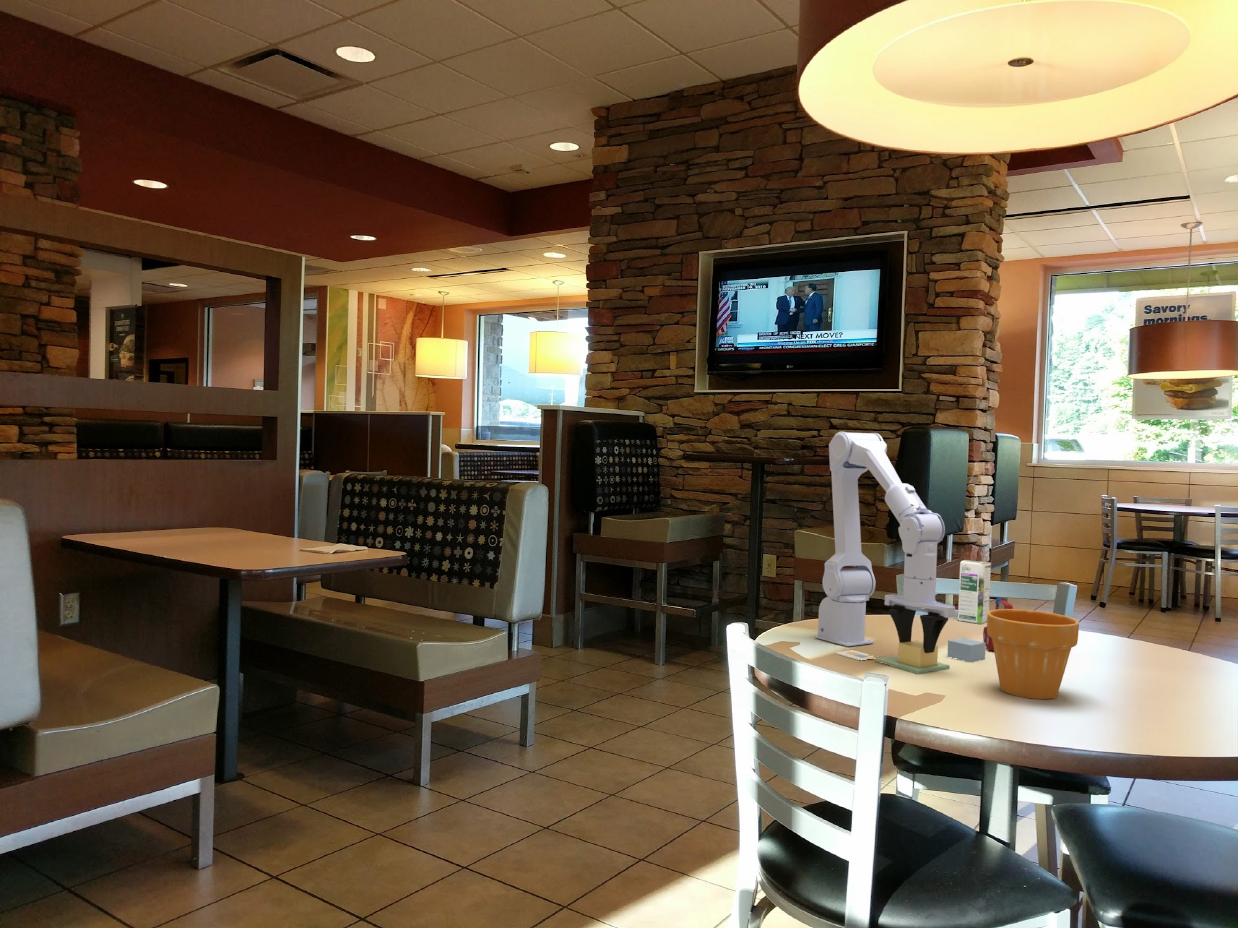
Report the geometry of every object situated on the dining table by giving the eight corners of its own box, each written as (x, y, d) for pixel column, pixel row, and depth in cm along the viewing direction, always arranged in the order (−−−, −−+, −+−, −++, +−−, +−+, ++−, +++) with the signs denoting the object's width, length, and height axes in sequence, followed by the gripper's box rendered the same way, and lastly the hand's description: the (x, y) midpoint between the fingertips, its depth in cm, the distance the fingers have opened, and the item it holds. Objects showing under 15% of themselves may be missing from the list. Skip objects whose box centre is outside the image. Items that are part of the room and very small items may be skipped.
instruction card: (834, 653, 177) (834, 651, 177) (852, 650, 180) (852, 649, 180) (861, 661, 171) (861, 659, 171) (879, 658, 174) (879, 657, 174)
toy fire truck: (1015, 644, 192) (1017, 595, 191) (1026, 656, 180) (1028, 605, 179) (980, 641, 193) (982, 593, 193) (989, 653, 181) (991, 602, 181)
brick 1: (898, 661, 169) (898, 642, 169) (915, 658, 172) (916, 640, 172) (919, 667, 165) (920, 648, 165) (937, 664, 168) (938, 645, 168)
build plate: (875, 661, 171) (875, 658, 171) (906, 656, 176) (906, 653, 176) (918, 673, 163) (918, 670, 162) (949, 668, 167) (949, 665, 167)
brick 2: (947, 657, 177) (948, 640, 177) (962, 654, 180) (962, 637, 180) (970, 663, 173) (971, 645, 173) (984, 660, 176) (985, 642, 176)
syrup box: (956, 620, 216) (959, 561, 215) (965, 617, 220) (967, 559, 220) (981, 624, 212) (983, 563, 212) (989, 621, 217) (991, 561, 216)
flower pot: (1062, 685, 158) (1065, 611, 158) (1087, 707, 144) (1090, 627, 144) (977, 678, 161) (980, 606, 160) (993, 699, 147) (996, 621, 147)
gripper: (966, 581, 164) (963, 655, 164) (902, 571, 176) (900, 639, 176) (942, 583, 160) (939, 659, 160) (878, 572, 172) (875, 642, 173)
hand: (917, 649), depth 168 cm, fingers closed on brick 1, 5 cm apart
